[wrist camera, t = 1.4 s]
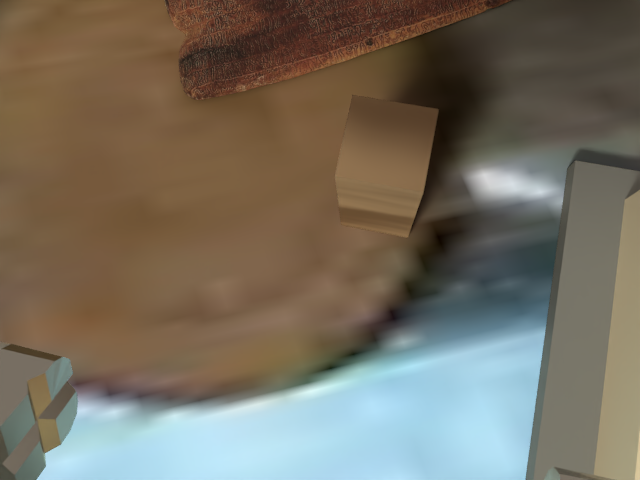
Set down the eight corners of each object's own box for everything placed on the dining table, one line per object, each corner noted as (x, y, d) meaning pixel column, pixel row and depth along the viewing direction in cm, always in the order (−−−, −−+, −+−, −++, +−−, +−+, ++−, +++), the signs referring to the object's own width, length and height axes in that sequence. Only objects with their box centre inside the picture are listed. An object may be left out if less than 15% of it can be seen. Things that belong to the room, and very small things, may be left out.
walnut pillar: (407, 237, 39) (423, 192, 29) (341, 225, 39) (334, 175, 29) (419, 174, 39) (438, 109, 30) (354, 162, 40) (352, 94, 30)
